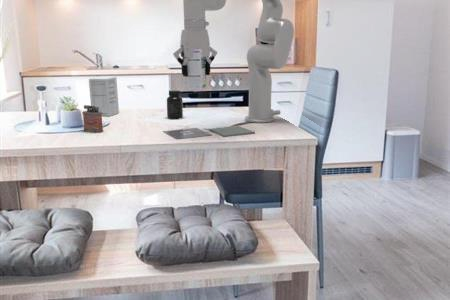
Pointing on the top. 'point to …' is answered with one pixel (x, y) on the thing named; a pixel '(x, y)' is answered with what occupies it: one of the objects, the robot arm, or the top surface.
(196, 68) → the syrup box
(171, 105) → the supplement bottle
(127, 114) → the top surface
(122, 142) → the top surface
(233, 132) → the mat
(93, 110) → the lighter
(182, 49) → the robot arm
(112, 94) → the supplement box
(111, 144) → the top surface
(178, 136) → the card
